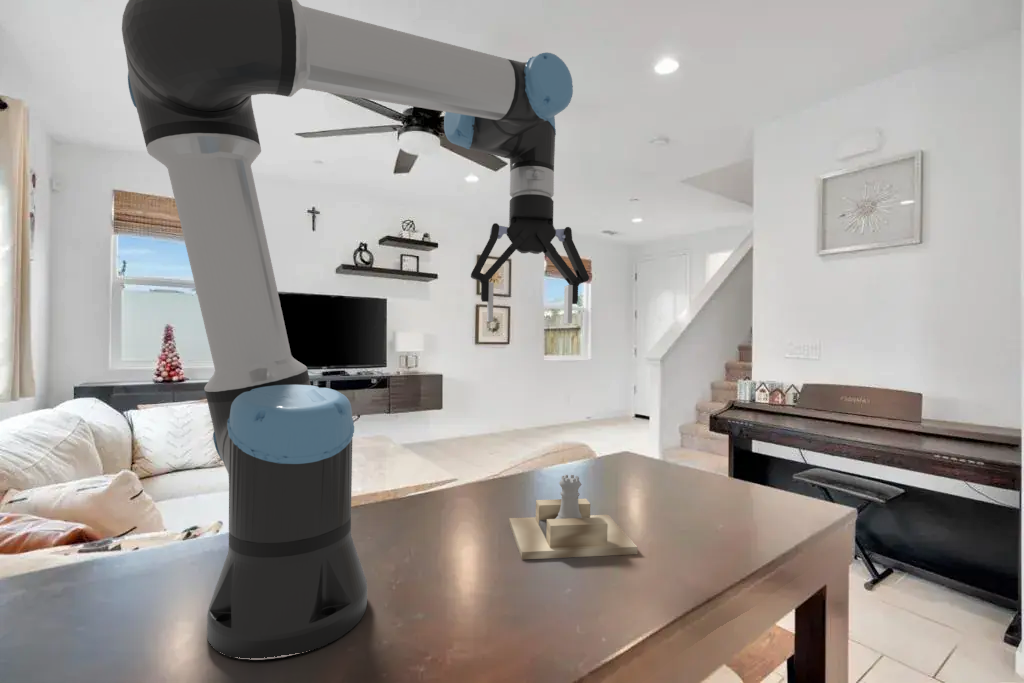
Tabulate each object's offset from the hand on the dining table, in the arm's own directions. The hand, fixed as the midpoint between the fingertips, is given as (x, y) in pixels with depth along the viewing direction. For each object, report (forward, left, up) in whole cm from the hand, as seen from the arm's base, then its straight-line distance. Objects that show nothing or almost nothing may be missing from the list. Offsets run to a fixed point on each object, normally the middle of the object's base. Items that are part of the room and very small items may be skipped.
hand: (529, 322), depth 85 cm
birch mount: (+4, -14, -32) cm, 35 cm away
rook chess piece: (+4, -14, -31) cm, 34 cm away
